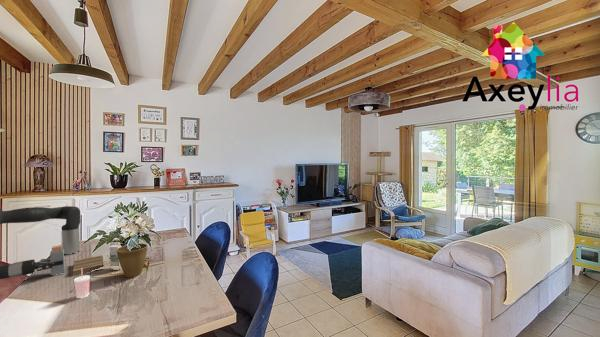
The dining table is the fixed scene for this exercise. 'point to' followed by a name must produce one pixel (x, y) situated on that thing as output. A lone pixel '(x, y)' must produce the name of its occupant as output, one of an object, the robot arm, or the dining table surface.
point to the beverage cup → (82, 285)
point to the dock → (87, 264)
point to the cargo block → (57, 249)
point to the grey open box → (57, 257)
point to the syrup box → (114, 255)
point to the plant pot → (132, 260)
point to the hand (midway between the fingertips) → (63, 260)
